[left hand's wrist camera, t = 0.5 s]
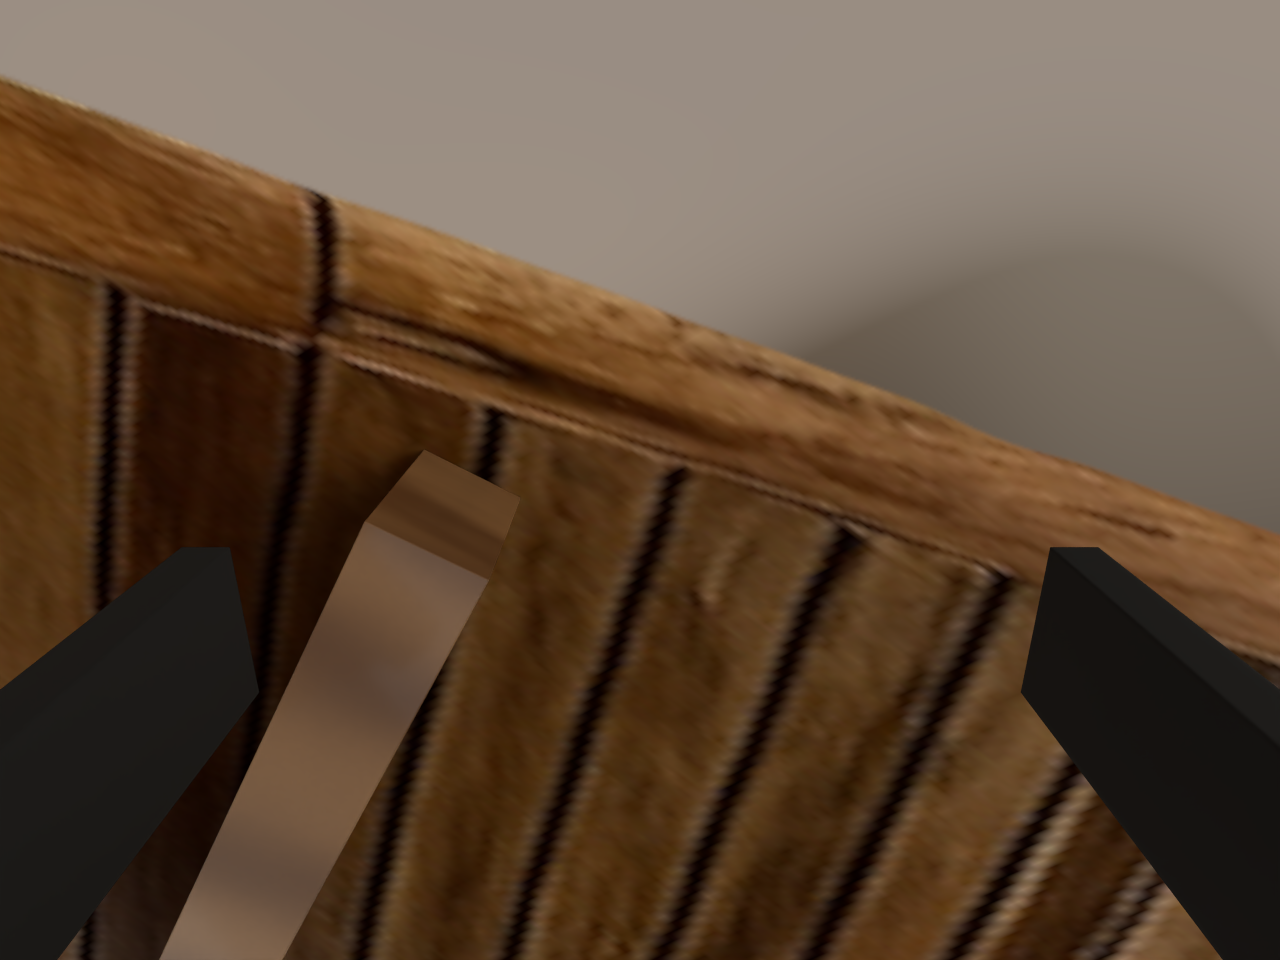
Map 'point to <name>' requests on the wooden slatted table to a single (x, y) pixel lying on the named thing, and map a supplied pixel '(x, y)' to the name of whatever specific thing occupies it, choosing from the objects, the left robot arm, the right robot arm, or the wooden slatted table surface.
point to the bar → (346, 709)
